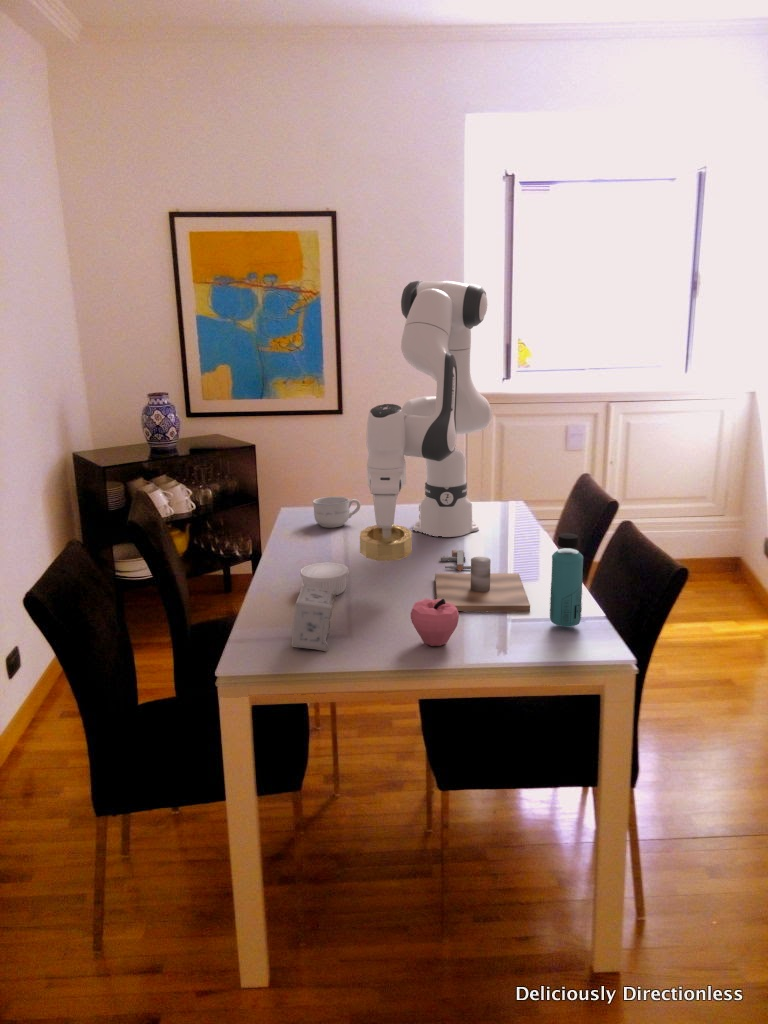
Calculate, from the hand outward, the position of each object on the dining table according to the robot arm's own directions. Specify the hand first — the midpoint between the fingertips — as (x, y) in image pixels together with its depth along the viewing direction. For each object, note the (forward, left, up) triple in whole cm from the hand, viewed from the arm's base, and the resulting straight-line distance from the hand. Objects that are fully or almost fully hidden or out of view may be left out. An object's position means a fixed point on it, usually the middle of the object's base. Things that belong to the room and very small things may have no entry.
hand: (387, 534), depth 188 cm
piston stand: (+6, +21, -13) cm, 26 cm away
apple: (+32, +10, -13) cm, 36 cm away
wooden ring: (+5, 0, -2) cm, 5 cm away
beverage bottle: (+24, +37, -13) cm, 46 cm away
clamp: (-14, +18, -14) cm, 27 cm away
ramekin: (+3, -15, -13) cm, 20 cm away
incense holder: (+31, -14, -13) cm, 36 cm away
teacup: (-50, -17, -13) cm, 55 cm away
